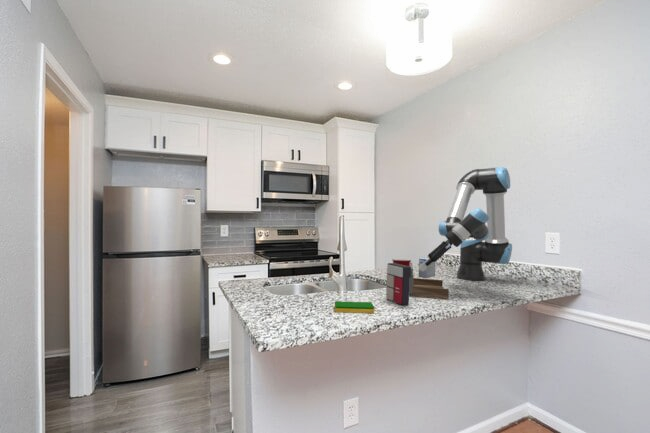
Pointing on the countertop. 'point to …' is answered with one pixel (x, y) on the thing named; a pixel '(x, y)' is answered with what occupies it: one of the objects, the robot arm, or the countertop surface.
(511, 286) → the countertop surface
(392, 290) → the grey and red box
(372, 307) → the dish sponge
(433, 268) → the medicine box
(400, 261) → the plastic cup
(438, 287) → the wooden tray
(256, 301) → the countertop surface
